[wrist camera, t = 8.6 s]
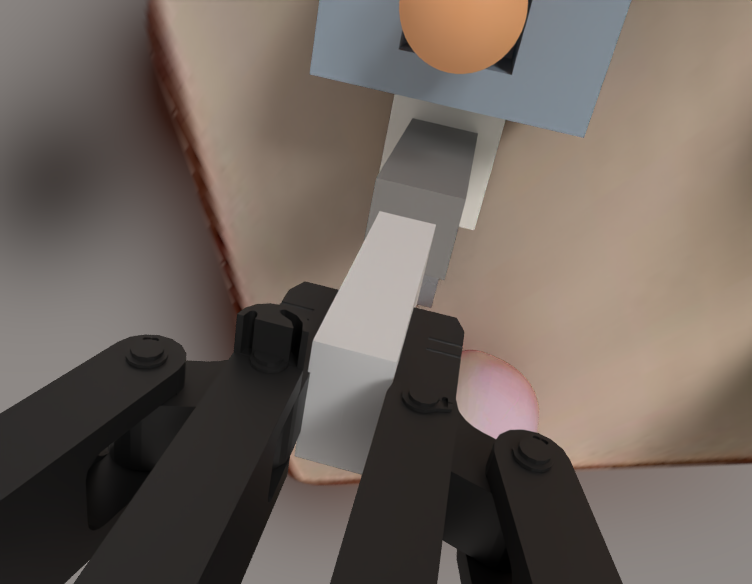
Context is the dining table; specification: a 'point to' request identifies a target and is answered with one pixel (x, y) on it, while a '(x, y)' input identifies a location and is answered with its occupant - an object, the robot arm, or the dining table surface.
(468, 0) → the plunger
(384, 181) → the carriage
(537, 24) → the housing
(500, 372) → the decorative fruit
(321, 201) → the dining table surface
